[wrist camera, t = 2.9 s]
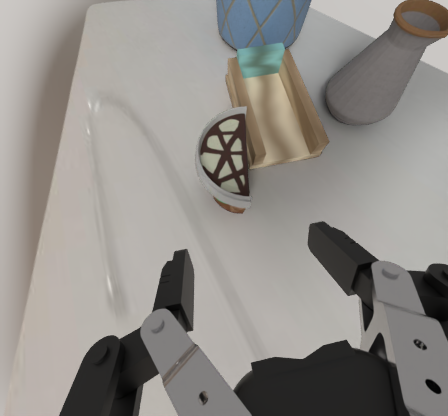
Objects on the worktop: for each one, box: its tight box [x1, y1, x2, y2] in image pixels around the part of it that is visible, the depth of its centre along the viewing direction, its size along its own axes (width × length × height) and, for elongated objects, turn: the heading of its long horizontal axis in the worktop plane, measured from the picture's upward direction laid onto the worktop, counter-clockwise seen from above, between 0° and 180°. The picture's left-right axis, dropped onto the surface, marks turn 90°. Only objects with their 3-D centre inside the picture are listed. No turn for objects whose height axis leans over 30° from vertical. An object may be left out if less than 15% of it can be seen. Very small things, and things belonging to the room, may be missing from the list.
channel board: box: [226, 43, 329, 169], centre depth 30 cm, size 12×20×5 cm, turn 11°
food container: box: [195, 106, 252, 214], centre depth 23 cm, size 12×6×10 cm, turn 0°
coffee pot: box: [326, 0, 448, 125], centre depth 26 cm, size 21×12×15 cm, turn 117°
